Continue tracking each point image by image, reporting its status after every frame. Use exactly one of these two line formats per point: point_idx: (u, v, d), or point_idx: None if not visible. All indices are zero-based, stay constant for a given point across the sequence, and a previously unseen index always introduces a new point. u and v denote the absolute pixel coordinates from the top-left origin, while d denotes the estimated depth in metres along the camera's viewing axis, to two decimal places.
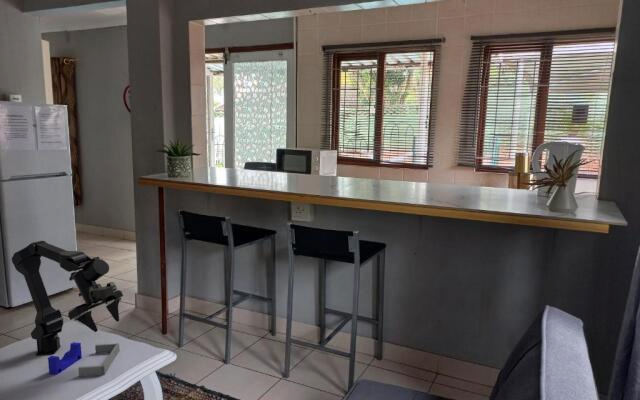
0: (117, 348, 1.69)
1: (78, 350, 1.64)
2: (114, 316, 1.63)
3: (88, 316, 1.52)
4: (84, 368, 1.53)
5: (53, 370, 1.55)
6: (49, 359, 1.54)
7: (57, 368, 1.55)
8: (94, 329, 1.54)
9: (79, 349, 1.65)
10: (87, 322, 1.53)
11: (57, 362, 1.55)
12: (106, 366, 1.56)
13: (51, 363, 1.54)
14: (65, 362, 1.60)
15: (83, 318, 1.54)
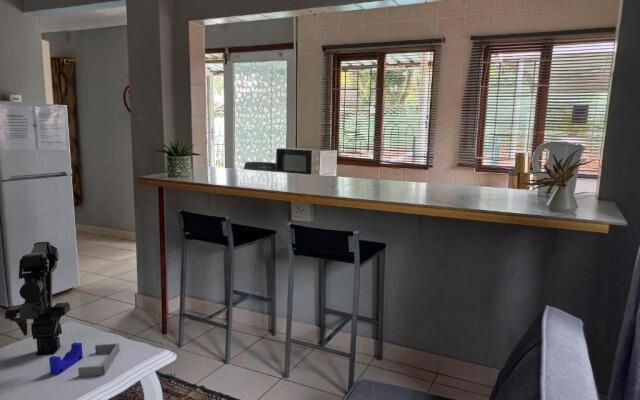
0: (117, 348, 1.69)
1: (79, 350, 1.64)
2: None
3: (16, 322, 1.55)
4: (84, 368, 1.53)
5: (54, 371, 1.54)
6: (50, 359, 1.54)
7: (58, 368, 1.55)
8: None
9: (80, 350, 1.65)
10: None
11: (58, 362, 1.54)
12: (106, 366, 1.56)
13: (53, 363, 1.54)
14: (66, 362, 1.60)
15: None
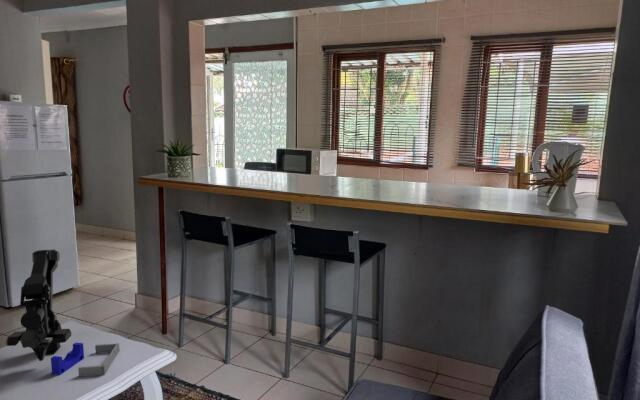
0: (117, 348, 1.69)
1: (80, 350, 1.64)
2: None
3: (32, 347, 1.57)
4: (84, 368, 1.53)
5: (56, 371, 1.54)
6: (52, 359, 1.54)
7: (60, 368, 1.54)
8: None
9: (81, 350, 1.65)
10: None
11: (60, 362, 1.54)
12: (106, 366, 1.56)
13: (54, 363, 1.54)
14: (68, 362, 1.60)
15: None
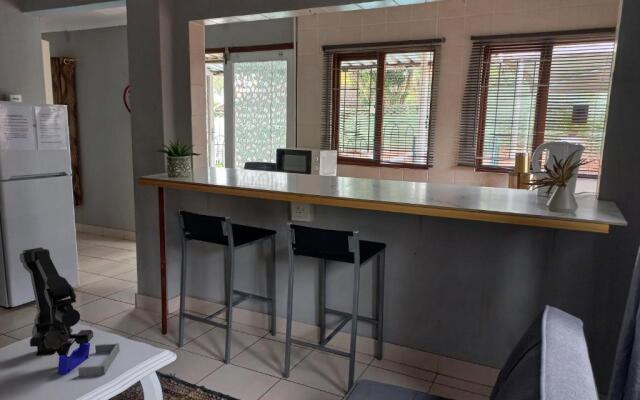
0: (117, 348, 1.69)
1: (87, 350, 1.64)
2: None
3: (55, 348, 1.58)
4: (84, 368, 1.53)
5: (62, 370, 1.54)
6: (60, 358, 1.54)
7: (67, 368, 1.54)
8: None
9: (87, 349, 1.65)
10: None
11: (68, 362, 1.54)
12: (106, 366, 1.56)
13: (62, 362, 1.54)
14: (73, 361, 1.60)
15: None
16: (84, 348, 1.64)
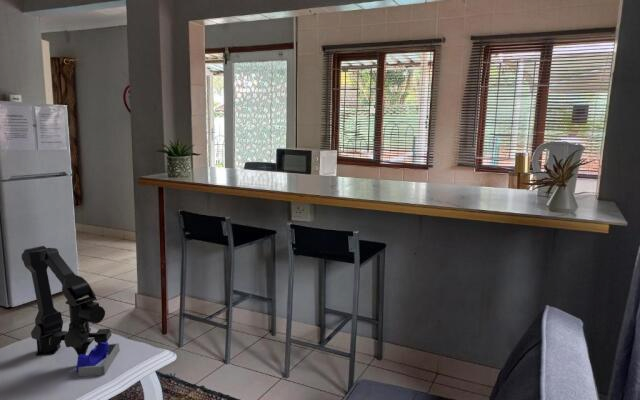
0: (117, 348, 1.69)
1: (105, 349, 1.65)
2: None
3: (74, 347, 1.59)
4: (84, 368, 1.53)
5: None
6: (79, 357, 1.54)
7: None
8: None
9: (105, 349, 1.65)
10: None
11: (86, 361, 1.55)
12: (106, 366, 1.56)
13: (81, 361, 1.55)
14: (91, 360, 1.61)
15: None
16: (102, 347, 1.64)
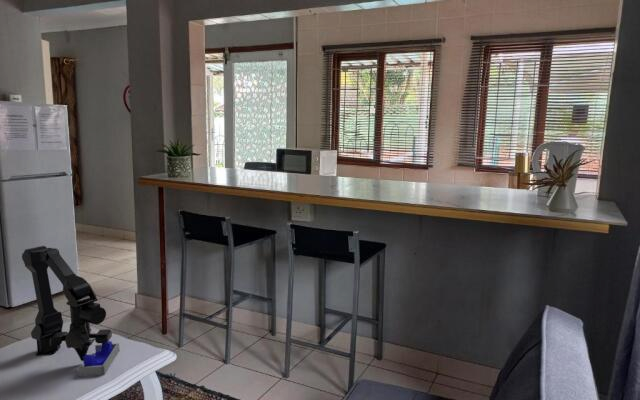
0: (117, 348, 1.69)
1: (110, 349, 1.65)
2: None
3: (74, 348, 1.59)
4: (84, 368, 1.53)
5: None
6: (85, 358, 1.55)
7: None
8: None
9: (110, 348, 1.66)
10: None
11: (93, 361, 1.55)
12: (106, 366, 1.56)
13: (87, 361, 1.55)
14: (98, 361, 1.61)
15: None
16: (107, 347, 1.65)
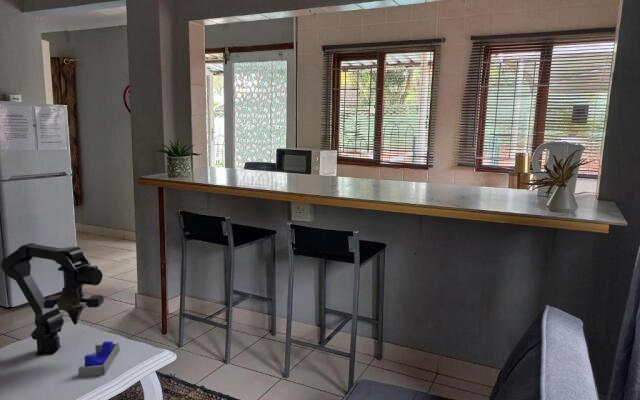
0: (117, 348, 1.69)
1: (111, 349, 1.65)
2: None
3: (67, 311, 1.64)
4: (84, 368, 1.53)
5: None
6: (86, 358, 1.55)
7: None
8: None
9: (111, 348, 1.66)
10: None
11: (94, 361, 1.55)
12: (106, 366, 1.56)
13: (88, 361, 1.55)
14: (99, 361, 1.61)
15: None
16: (108, 347, 1.65)
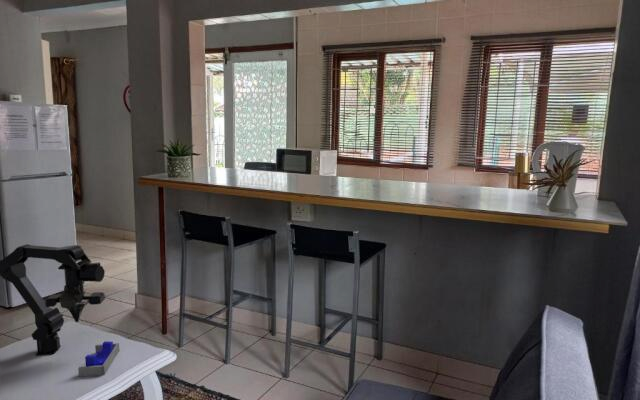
0: (117, 348, 1.69)
1: (111, 349, 1.65)
2: None
3: (69, 309, 1.66)
4: (84, 368, 1.53)
5: None
6: (86, 358, 1.55)
7: None
8: None
9: (111, 348, 1.66)
10: None
11: (94, 361, 1.55)
12: (106, 366, 1.56)
13: (89, 362, 1.55)
14: (100, 361, 1.61)
15: None
16: (108, 347, 1.65)
